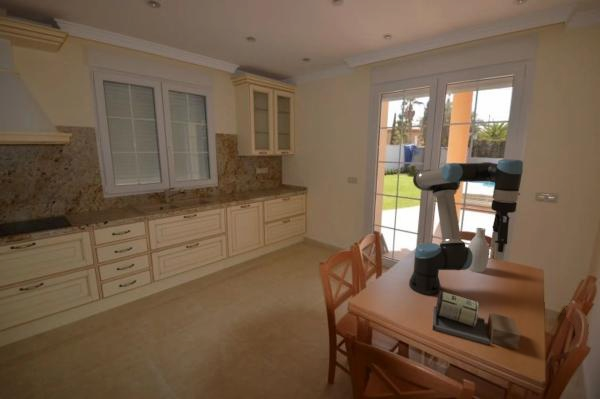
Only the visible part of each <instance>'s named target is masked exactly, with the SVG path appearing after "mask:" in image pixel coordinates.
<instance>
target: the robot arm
mask: <svg viewBox="0 0 600 399" xmlns="http://www.w3.org/2000/svg"><path fill="white" fill-rule="evenodd" d="M523 167H524V161H522V160H520V159H504V158H503V159H499V160H498V161H497V163H496V162H489V161H488V162H486V161H485V162H474V163H473V162H470V163H468V162H467V163H463V162H462V163H460V162H459V163H458V162H452V163H446V164H444V165H443V166H442V167H439V168H435V169H424V170H419V171H418V172H416V173H415V174H414V175H413V178H412V182H413V185H414V186H415V187H416V188H417V189H419V190H421V191H425V192H426V191H428V192H430V191H431V192H432V196H433V197H435V198H436V203H437V211H438V218H439V225H440V226H439V227H440V233H441V240H442V241H440V243H439V244H438V243H435V242H434V243H432V242H423V243H420V244H418V245H417V246H416V247H415V251H414V266H413V272H412V274H411V277H410V279H409V282H408V286H409V287H410V289H411V290H412V291H414V292H416V293H419V294H422V295H428V296H435V295H439V291H440V290H441V291H442V285H441V282H440V278H439V272H440V271H465V270H469V269H468V268H469V267H470V266H471V264H472V260H473V255H472V251H470V248H468V246H466V242H464V241H463V240H462V238H461V231H460V226H459V218H458V211H457V205H456V199H455V195H456V194H457V192H458V190H459V189H460V187H461V182H462V183H463V182H465V183H466V182H470V183H471V182H473V183H474V182H476V183H477V182H489V183H490V182H491V183H494V187H493V192H492V199H493V200H492V201H491V207H490V208H491V210H492V211H494V212H495V215H494V220H493V224H492V234H491V241H490V248H494V254H493V256H494V257H493V259H494V260H498V261H499V260H500V261H503V260H504V258H505V257H504V256H505V251H506V246H507V244H508V234H509V223H510V216H509V214H510V213H515V212H516V211H517V205H518V203H517V201H518V197H519V196H520V195H521V193H520V187H521V181H522V180H521V179H522V176H523V172H524V171H523V170H524V169H523ZM508 213H509V214H508Z"/></svg>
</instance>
